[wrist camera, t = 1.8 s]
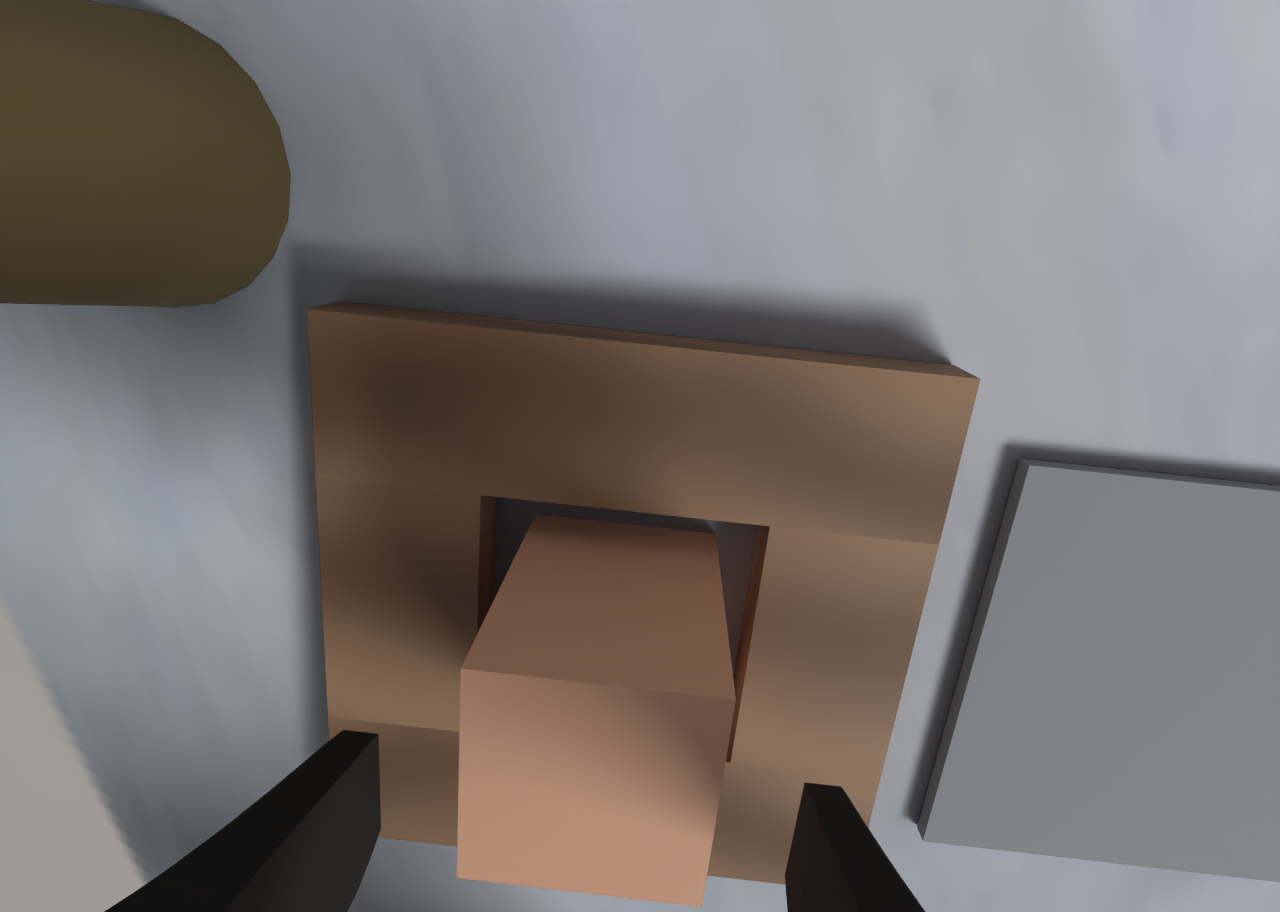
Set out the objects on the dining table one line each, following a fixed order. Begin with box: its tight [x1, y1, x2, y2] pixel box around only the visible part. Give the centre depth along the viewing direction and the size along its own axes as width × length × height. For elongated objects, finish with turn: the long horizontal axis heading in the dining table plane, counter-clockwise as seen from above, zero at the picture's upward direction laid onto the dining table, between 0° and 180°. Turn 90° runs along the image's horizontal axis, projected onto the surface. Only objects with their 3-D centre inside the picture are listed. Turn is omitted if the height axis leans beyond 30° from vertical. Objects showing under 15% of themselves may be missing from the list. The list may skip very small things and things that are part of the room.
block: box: [457, 514, 736, 907], centre depth 15 cm, size 4×4×6 cm
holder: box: [307, 302, 980, 885], centre depth 18 cm, size 14×14×2 cm
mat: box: [917, 458, 1280, 882], centre depth 18 cm, size 11×11×1 cm
